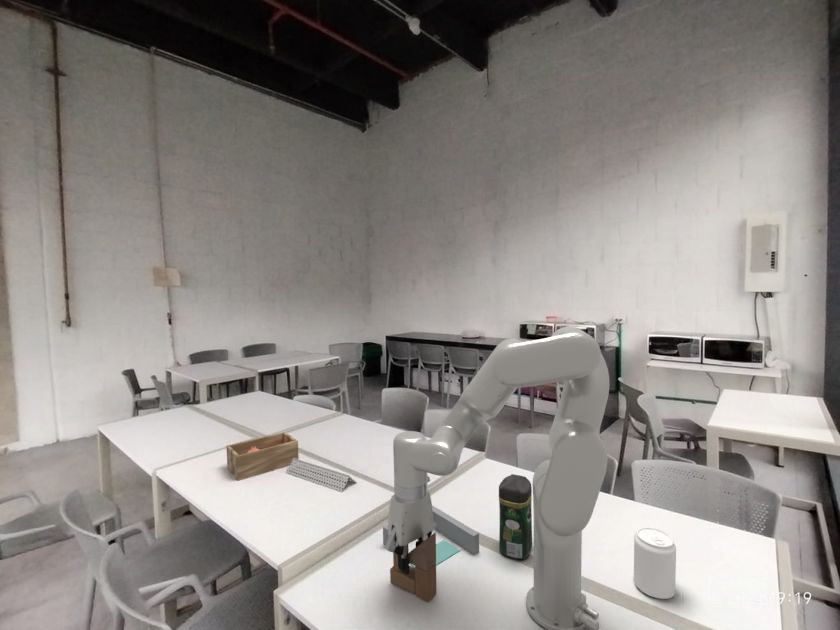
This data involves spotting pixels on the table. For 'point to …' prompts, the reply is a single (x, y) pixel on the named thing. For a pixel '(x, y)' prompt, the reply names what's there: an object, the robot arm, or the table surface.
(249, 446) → the box
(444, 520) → the corner wall
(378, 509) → the table surface
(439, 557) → the pad
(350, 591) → the table surface
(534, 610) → the robot arm
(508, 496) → the coffee jar
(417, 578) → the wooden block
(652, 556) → the beverage can
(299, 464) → the corner bead
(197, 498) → the table surface
